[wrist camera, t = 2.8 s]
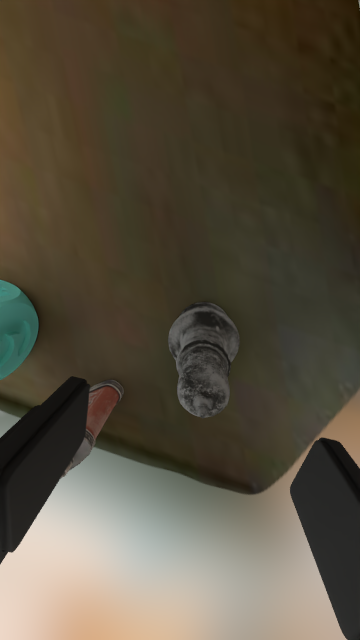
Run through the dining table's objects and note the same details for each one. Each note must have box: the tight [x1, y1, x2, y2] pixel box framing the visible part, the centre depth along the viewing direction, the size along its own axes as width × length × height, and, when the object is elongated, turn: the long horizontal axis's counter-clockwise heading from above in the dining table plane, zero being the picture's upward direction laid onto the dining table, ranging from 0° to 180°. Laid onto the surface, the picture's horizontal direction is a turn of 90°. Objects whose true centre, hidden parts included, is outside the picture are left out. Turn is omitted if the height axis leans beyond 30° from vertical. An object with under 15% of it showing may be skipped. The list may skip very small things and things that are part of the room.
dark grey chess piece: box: [168, 302, 239, 418], centre depth 15 cm, size 6×6×12 cm
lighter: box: [61, 380, 124, 478], centre depth 20 cm, size 8×3×10 cm, turn 127°
